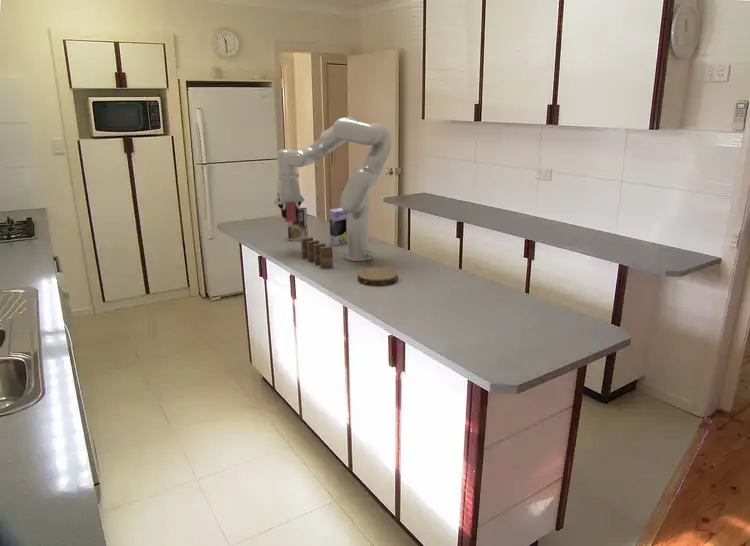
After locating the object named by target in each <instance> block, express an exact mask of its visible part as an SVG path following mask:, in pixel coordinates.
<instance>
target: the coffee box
mask: <svg viewBox="0 0 750 546" xmlns="http://www.w3.org/2000/svg"><path fill="white" fill-rule="evenodd" d="M307 211H308V210H307V207H299V208H298V217H296V221H290V222H287V233H288V234H287V235H288V236H287V237H288V241H289V240H292V241H293V242H294V241H295V242H298V241H299V242H300V241H301V239H303V238H309V233H308V232H309V231H308V215H307V214H308V213H307ZM292 241H291V242H292Z"/></svg>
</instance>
